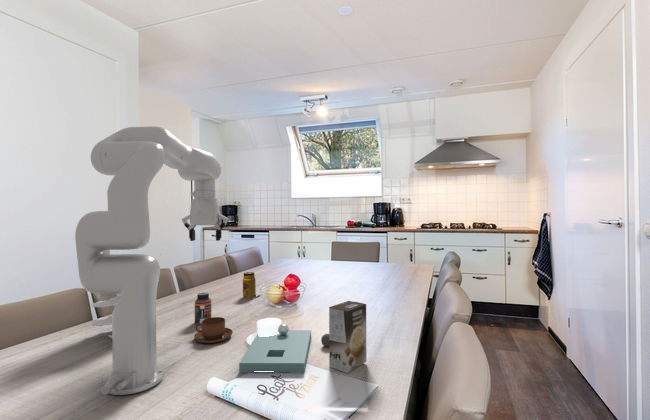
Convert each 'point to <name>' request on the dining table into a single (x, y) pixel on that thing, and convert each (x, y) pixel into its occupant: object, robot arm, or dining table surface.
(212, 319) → the cup and saucer
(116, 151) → the robot arm
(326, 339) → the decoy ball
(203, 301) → the supplement bottle
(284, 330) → the ball
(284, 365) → the grey-green flat board
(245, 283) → the condiment
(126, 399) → the dining table surface
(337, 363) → the coffee box
